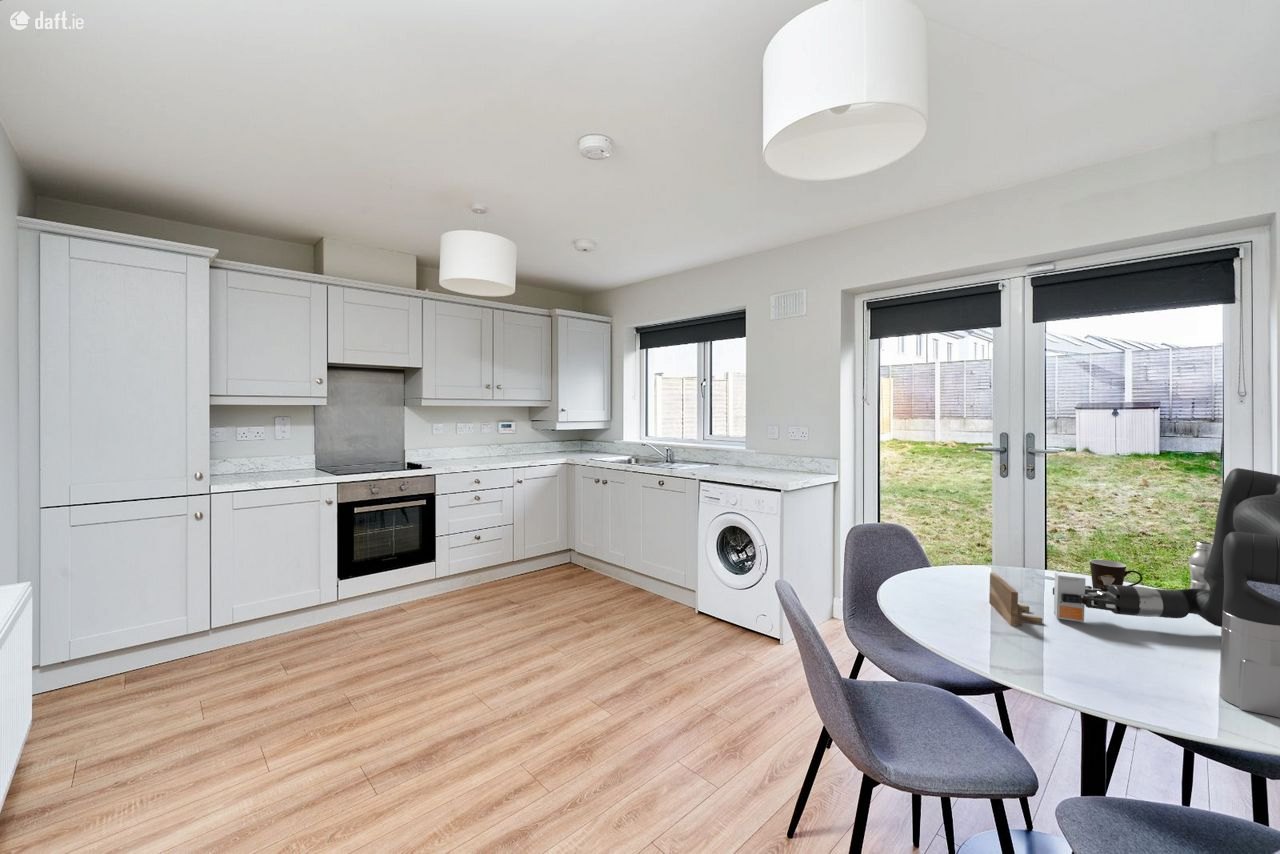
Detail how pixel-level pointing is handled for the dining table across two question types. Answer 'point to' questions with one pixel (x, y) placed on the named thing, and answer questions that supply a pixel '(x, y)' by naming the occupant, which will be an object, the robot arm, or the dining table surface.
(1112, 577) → the coffee mug
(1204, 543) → the plastic bottle
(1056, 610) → the skincare box
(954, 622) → the dining table surface
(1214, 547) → the robot arm
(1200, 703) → the dining table surface
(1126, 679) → the dining table surface
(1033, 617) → the wooden stand
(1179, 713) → the dining table surface
